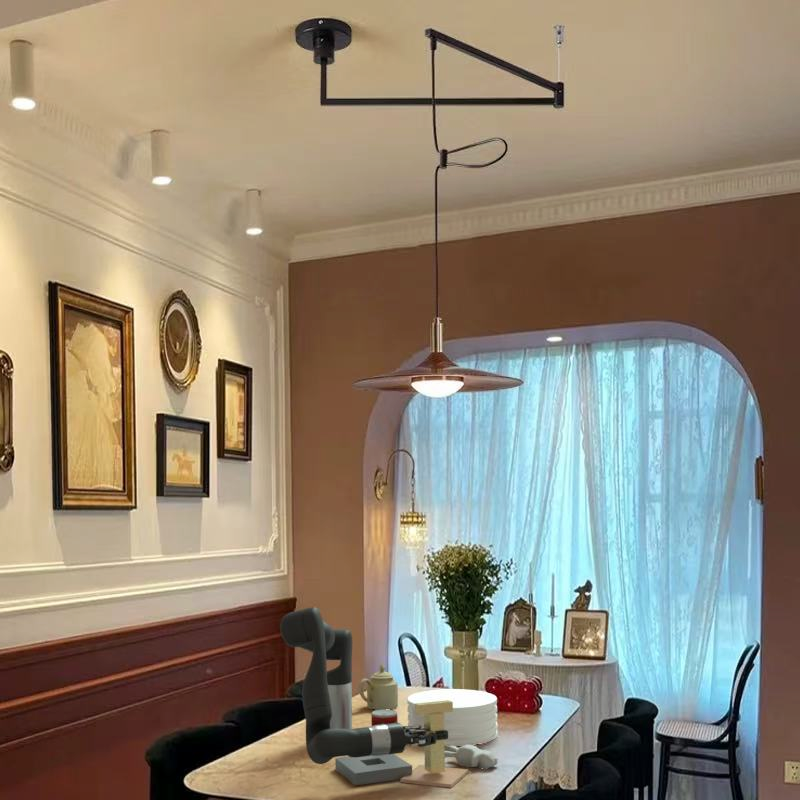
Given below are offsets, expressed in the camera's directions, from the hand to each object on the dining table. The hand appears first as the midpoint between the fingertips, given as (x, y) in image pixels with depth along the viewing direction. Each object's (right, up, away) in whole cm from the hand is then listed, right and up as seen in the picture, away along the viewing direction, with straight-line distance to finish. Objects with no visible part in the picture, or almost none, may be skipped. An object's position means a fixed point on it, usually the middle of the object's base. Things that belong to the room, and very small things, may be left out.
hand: (443, 732), depth 247 cm
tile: (-2, -11, -2) cm, 12 cm away
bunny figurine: (+8, -13, +9) cm, 17 cm away
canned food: (-16, -15, +25) cm, 33 cm away
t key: (-2, -9, -2) cm, 10 cm away
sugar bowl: (-19, -21, +82) cm, 86 cm away
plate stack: (+5, -16, +42) cm, 45 cm away
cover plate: (-19, -12, +2) cm, 22 cm away
